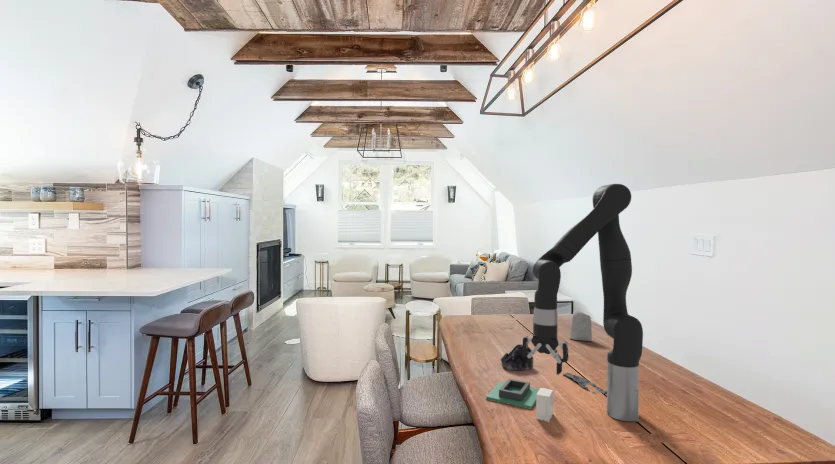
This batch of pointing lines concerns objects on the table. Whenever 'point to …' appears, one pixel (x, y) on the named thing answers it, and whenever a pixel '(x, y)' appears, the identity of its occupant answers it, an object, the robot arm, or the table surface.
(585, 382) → the driftwood
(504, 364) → the crystal cluster
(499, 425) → the table surface
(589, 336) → the decorative stone
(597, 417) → the table surface
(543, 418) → the plug
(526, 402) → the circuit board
